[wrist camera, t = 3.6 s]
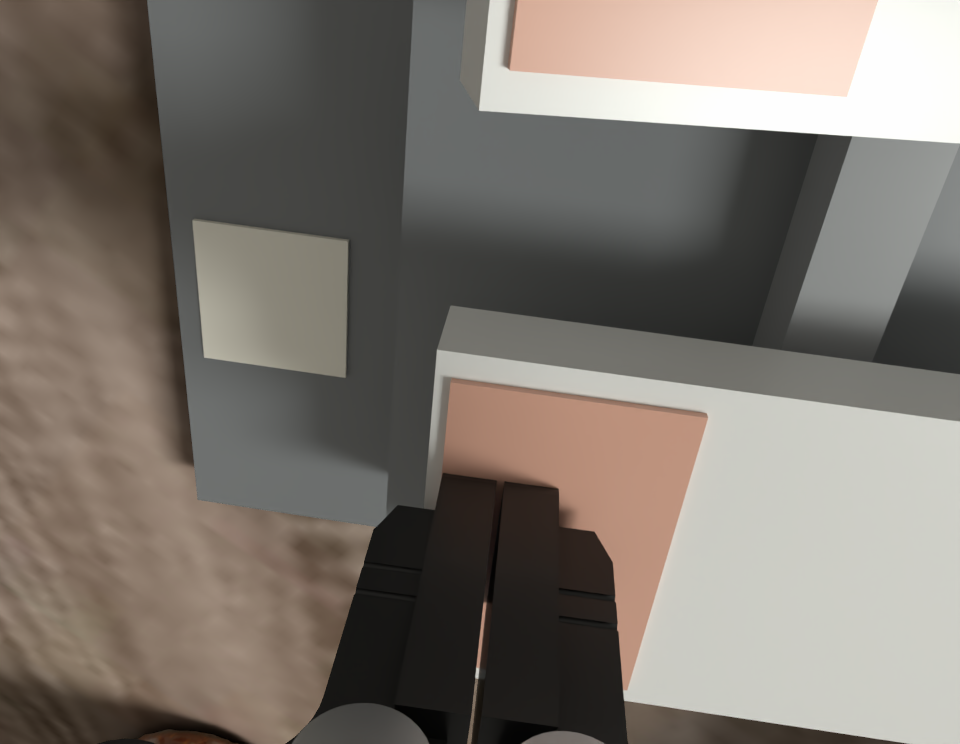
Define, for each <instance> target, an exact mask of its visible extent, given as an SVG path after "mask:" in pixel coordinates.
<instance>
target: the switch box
mask: <svg viewBox="0 0 960 744" xmlns="http://www.w3.org/2000/svg"><path fill="white" fill-rule="evenodd" d="M466 2H467V0H147V5H148V15H149V24H150V34H151V44H152V54H153V64H154V74H155V83H156V93H157V103H158V113H159V123H160V133H161V143H162V152H163V162H164V172H165V182H166V192H167V202H168V211H169V221H170V231H171V241H172V251H173V261H174V271H175V280H176V290H177V300H178V310H179V320H180V330H181V340H182V349H183V359H184V369H185V379H186V389H187V399H188V408H189V418H190V428H191V438H192V448H193V458H194V468H195V477H196V487H197V497H198V500H202V501H209V502H216V503H222V504H229V505H235V506H242V507H249V508H255V509H262V510H268V511H275V512H282V513H288V514H295V515H301V516H308V517H315V518H321V519H328V520H334V521H341V522H348V523H354V524H361V525H367V526H374V527H377V526H378V525H379V524H380V523H381V522H382V521H383V520H384V519H385V518H386V517H387V515H388V514H389V513H390V512H391V511H392V510H393V509H394V508H395V507H396V506H397V505H402V506H409V507H417V508H424V498H425V486H426V474H427V463H428V451H429V439H430V427H431V415H432V403H433V391H434V380H435V368H436V356H437V348H438V345H439V342H440V338H441V335H442V332H443V329H444V325H445V322H446V319H447V316H448V312H449V309H450V306H459V307H466V308H473V309H481V310H488V311H496V312H503V313H510V314H518V315H525V316H532V317H540V318H547V319H555V320H562V321H569V322H577V323H584V324H592V325H599V326H606V327H614V328H621V329H628V330H636V331H643V332H651V333H658V334H665V335H673V336H680V337H687V338H695V339H702V340H710V341H717V342H724V343H732V344H739V345H747V346H754V347H761V348H769V349H776V350H783V351H791V352H798V353H806V354H813V355H820V356H828V357H835V358H842V359H850V360H857V361H865V362H872V363H879V364H887V365H894V366H902V367H909V368H916V369H924V370H931V371H938V372H946V373H953V374H960V143H945V142H931V141H916V140H901V139H887V138H872V137H857V136H843V135H828V134H813V133H799V132H784V131H769V130H755V129H740V128H725V127H711V126H696V125H681V124H667V123H652V122H638V121H623V120H608V119H594V118H579V117H564V116H550V115H535V114H520V113H506V112H491V111H479V110H478V108H477V107H476V105H475V104H474V102H473V100H472V99H471V97H470V96H469V94H468V92H467V91H466V89H465V88H464V86H463V84H462V83H461V81H460V73H461V61H462V49H463V38H464V26H465V14H466Z"/></svg>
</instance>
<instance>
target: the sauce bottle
mask: <svg viewBox="0 0 960 744" xmlns="http://www.w3.org/2000/svg"><path fill="white" fill-rule="evenodd" d="M138 739H139V740H145V741H150V742H153V743H155V744H238V743H232V742H230V741H229V740H227V739H223V738H220V737H218V736H216V735H213V734H207V733H201V732H197V731H178V730H172V729H168V730H163V731H160V732H156V733H152V734H145V735H143V736H142V737H140V738H138Z"/></svg>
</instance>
